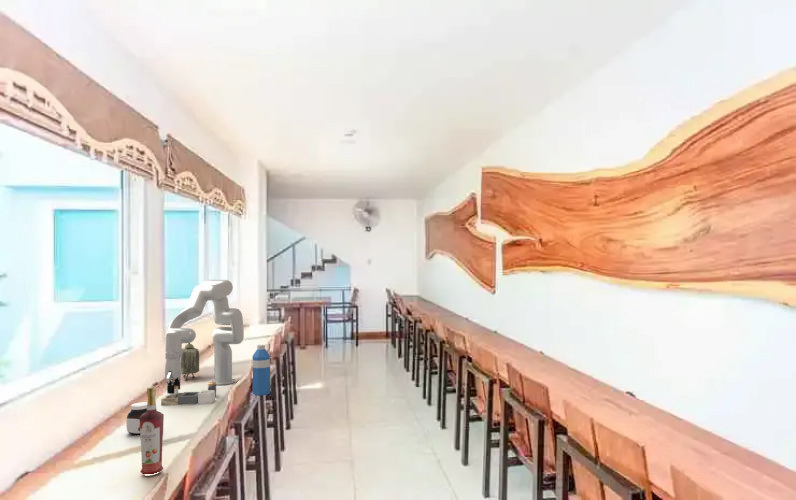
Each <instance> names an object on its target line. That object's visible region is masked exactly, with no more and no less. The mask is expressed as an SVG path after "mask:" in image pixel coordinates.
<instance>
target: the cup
mask: <svg viewBox="0 0 796 500" xmlns="http://www.w3.org/2000/svg"><path fill="white" fill-rule="evenodd" d="M198 392H199V393H198V403H197V405H202V404H203V405H211V404H213V403H214V402H215V401H216V397H215V390H208V389H207V390H200V391H198Z"/></svg>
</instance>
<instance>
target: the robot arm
mask: <svg viewBox="0 0 796 500" xmlns="http://www.w3.org/2000/svg"><path fill="white" fill-rule="evenodd" d="M233 288H234V286H233V283H232V282H231V280H228V279H207V280H204V281H203V282H202V284H199V285H196V286H195V287H194V288H193V290H192V292H191V296H190V297H189V300H188V301H187V304H186V306H185V308H184V309H183V310H182V311H180V312H179V313H178V314H177V315H176V316H175V317H174V318H173V319H172V320H171V321H170V323H169V326H168V329H167V331H165V339H164V340H165V342H164V344H165V345H164V346H165V351H164V352H165V366H164V367H165V369H164V380H166V387H167V388H166V389H167V395H168V394H170V393H174V385H177V386H178V391H179V390H181V376H182V372H181V358H182V349H183V345H182V344H188V343H190V344H192V342H194V341H195V339H196V338H197V333H196V331H195V330H194V329H193V328H189V327H187V328H185V327H182V326H183V325H184V324H186V323H187V322H189V321H191V320H193V319H195V318H198V317H200V316H202V313H203V312H204V308H205V306H206V304H207V301H211V302H212V312H213V321H214V323H215V324H216V325H218V326H219V327H216V328H215V329H213V331H212V334H211V335H212V343H213V349H214V353H213V354H214V380H211V382H216V386H225V385H227V386H228V385H232V384H234V383H236V380H235V379H234V378H233V351H232V350H233V349H232V347H231V346H230V345H239V344H241V343H242V342H243V340H244V337H245V336H244V335H245V334H244V333H245V332H244V320H243V319H244V318H243V313H242V311H241V310H240V309H239V308H235V307H230V306H229V299H228V296H229V295H231V293H232V292H233Z"/></svg>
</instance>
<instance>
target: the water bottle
mask: <svg viewBox="0 0 796 500" xmlns="http://www.w3.org/2000/svg"><path fill="white" fill-rule="evenodd" d="M253 394H255V395H254V396H267V395H270V394H271V356H270V353H269V352H268V351H267V350H266V345H265V344H257V345H256V349H255V351H254V352H253V354H252V395H253Z"/></svg>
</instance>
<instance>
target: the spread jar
mask: <svg viewBox="0 0 796 500" xmlns="http://www.w3.org/2000/svg"><path fill="white" fill-rule="evenodd" d="M147 403H148V401H145V402H144V401H141V402H136V403H132V404H131V405H130V410H129V412H128V413H127V415H126V419H125V420H126V424H125V425H126V431H127V433H128V434H129V435H131V436H133V437H134V436H135V435H136V436H137V435H139V436H140V419H139V417H140V416H141V415H142V414H144V413H146V412H147ZM137 437H138V436H137Z"/></svg>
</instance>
